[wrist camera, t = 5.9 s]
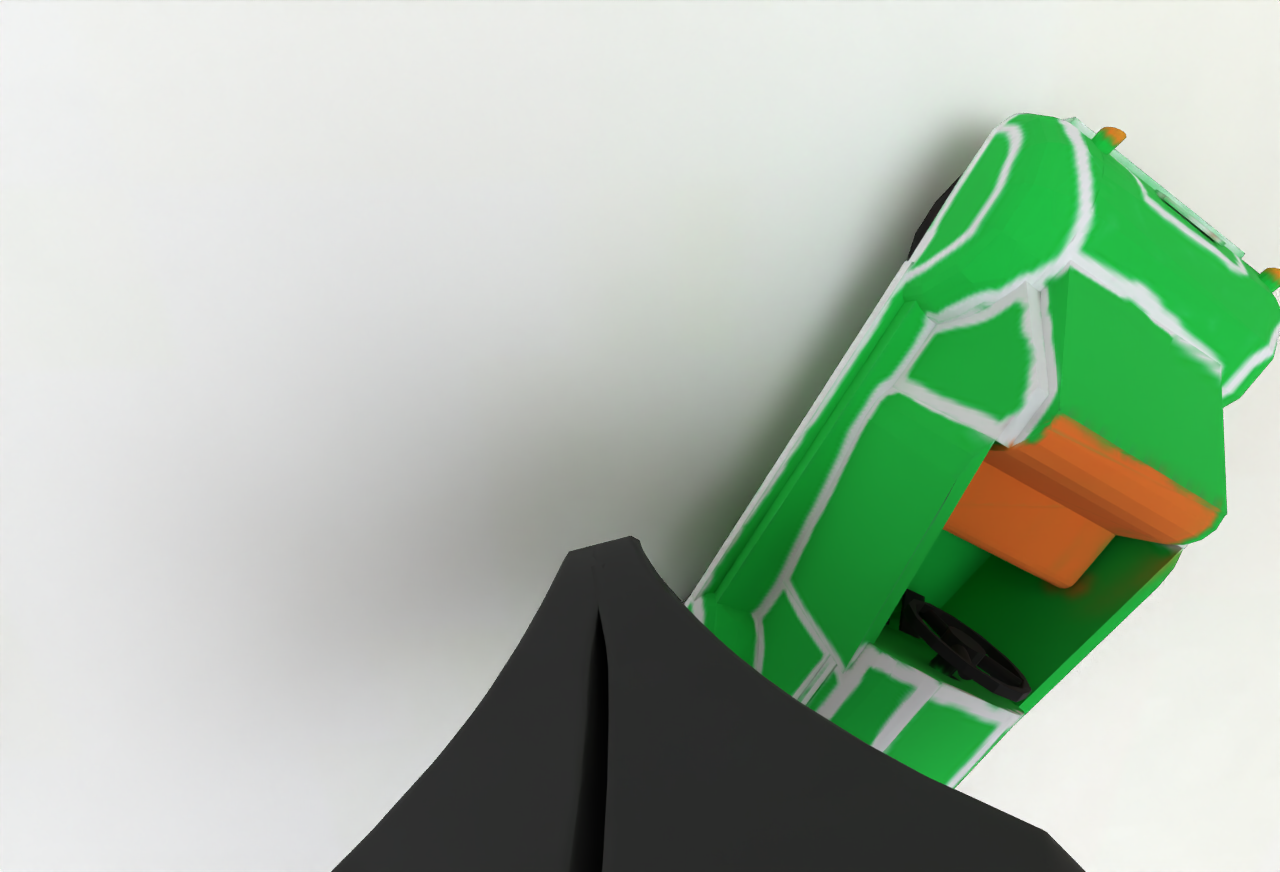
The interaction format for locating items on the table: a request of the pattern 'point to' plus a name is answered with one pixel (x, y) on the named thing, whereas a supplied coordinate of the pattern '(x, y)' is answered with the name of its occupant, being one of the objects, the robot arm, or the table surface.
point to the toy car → (998, 451)
